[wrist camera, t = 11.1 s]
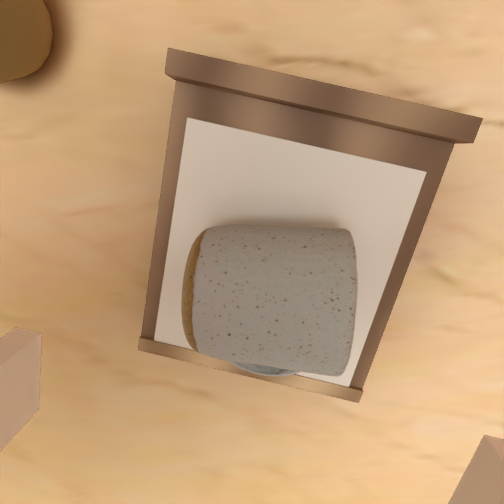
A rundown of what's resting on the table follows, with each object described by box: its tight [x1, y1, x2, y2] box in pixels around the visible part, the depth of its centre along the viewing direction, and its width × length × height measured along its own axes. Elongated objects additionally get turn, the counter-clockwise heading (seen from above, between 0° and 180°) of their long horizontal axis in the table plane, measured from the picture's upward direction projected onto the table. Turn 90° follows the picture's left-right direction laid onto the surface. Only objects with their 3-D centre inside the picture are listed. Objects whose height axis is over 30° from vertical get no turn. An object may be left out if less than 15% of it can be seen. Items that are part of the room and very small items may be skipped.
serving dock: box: [138, 48, 483, 403], centre depth 23 cm, size 16×19×5 cm
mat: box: [154, 117, 427, 387], centre depth 22 cm, size 14×15×1 cm
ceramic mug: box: [181, 224, 358, 377], centre depth 19 cm, size 11×8×8 cm
